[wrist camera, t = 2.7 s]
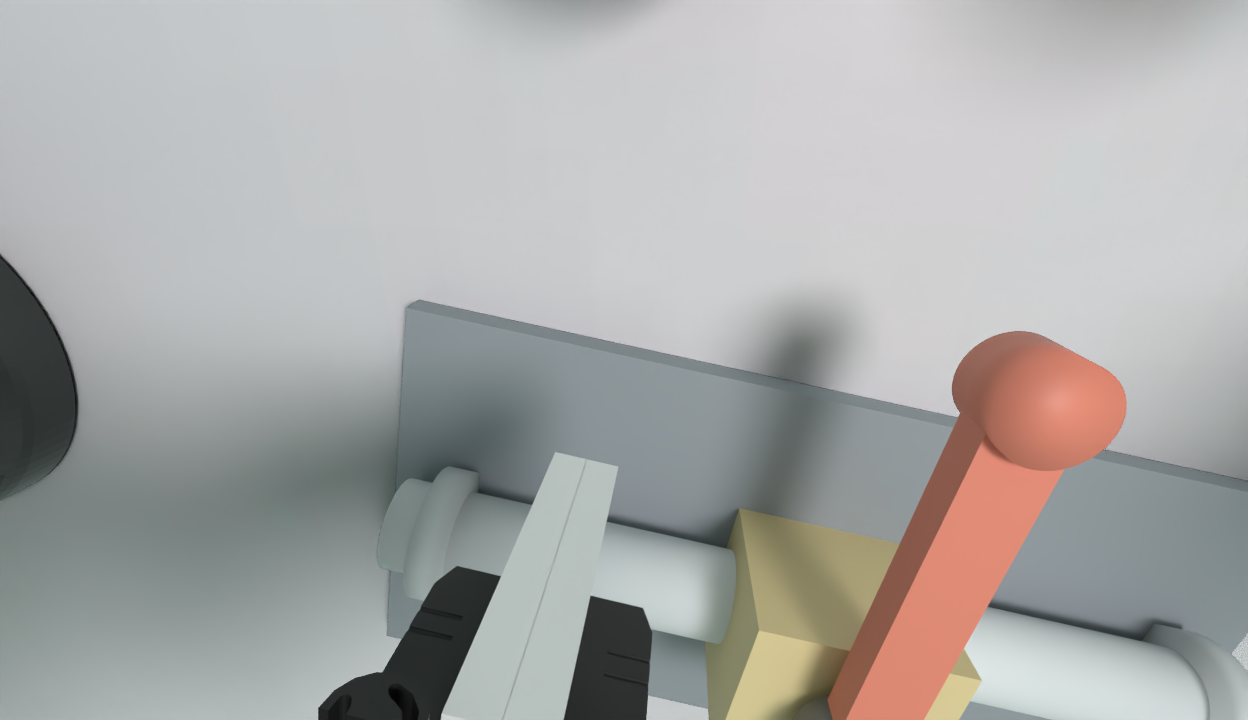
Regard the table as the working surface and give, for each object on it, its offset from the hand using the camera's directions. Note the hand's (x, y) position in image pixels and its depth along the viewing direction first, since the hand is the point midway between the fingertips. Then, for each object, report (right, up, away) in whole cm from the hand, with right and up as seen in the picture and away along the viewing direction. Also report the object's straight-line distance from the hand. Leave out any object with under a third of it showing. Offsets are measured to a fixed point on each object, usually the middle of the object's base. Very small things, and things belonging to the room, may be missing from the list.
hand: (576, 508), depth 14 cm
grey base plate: (+9, -6, +12) cm, 16 cm away
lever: (+9, -3, +3) cm, 10 cm away
